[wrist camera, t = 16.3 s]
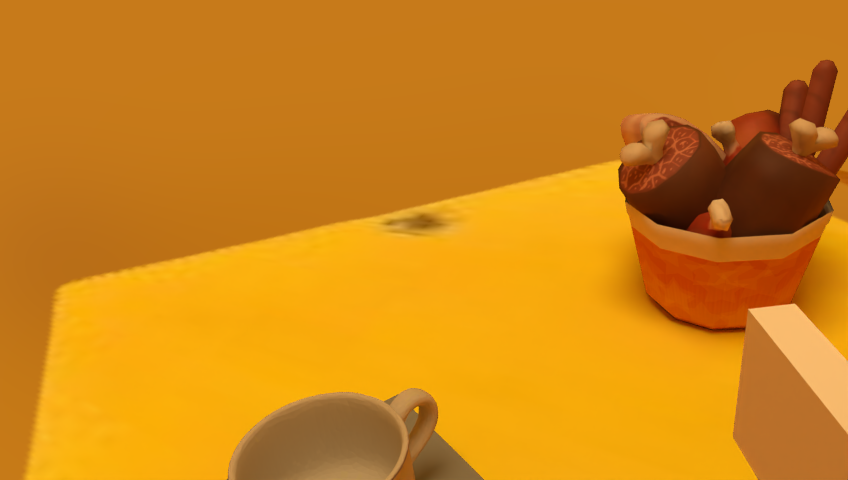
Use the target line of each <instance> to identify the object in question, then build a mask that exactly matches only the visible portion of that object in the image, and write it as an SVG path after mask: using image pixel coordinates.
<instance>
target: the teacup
mask: <svg viewBox="0 0 848 480" xmlns="http://www.w3.org/2000/svg"><path fill="white" fill-rule="evenodd" d="M417 406H419V414H418V418H417V420H416V423H415V425H414V427H413V429H412V431H411V432H410V434H408V430H407V427H406V425H405V420H406V418H407V416H408V414H409V413H410V412H411V411H412V410H413V409H414V408H416V407H417ZM437 419H438V407H437V404H436V402H435V400H434V399H433V397H432V396H431V395H430V394H428V393H427V392H425V391H423V390H421V389H416V388H411V389H407V390H405V391H403V392H401V393H400V394H399V395H398V396H397V397H396V398H395V399H394V400H393V401H392V403H391V404H390V405H388V404H386V403H385V402H383V401H381V400H379V399H376V398H374V397H371V396H366V395H363V394H358V393H351V392H337V393H328V394H321V395H316V396H312V397H308V398H304V399H301V400H299V401H296V402H293V403H290V404H288V405H286V406H284V407H282V408H280V409H278V410H276V411H274V412H273V413H271V414H270V415H268V416H266V417H265V418H264V419H263V420H261V421H260V422H259V423H258V424H256V425H255V426H254V427H253V428H252V429H251V430H250V431H249V432H248V433H247V434H246V435H245V436H244V437H243V439H242V440H241V441H240V443H239V444H238V446H237V447H236V449H235V451H234V453H233V456H232V458H231V461H230V463H229V470H228V480H415V475H414V470H413V465H412V464H413V462H414V461H415V459H416V458H417V457H418V455H419V454H420V453H421V451H422V450H423V448H424V447H425V445H426V444H427V442H428V441H429V439H430V437H431V435H432V433H433V431H434V429H435V426H436V424H437Z"/></svg>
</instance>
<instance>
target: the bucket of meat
mask: <svg viewBox="0 0 848 480" xmlns="http://www.w3.org/2000/svg"><path fill="white" fill-rule="evenodd" d="M837 72H838V71H837V68H836V66H835V64H834V62H833V61H830V60H824V61H820V63H819V64H818V65H817V66H816V67H815V68H814V69H813V72H812V76H811V80H810V84H809V87H808V86H807V84H806V83H805V81H801V80H794V81H791V82H790V83H789V84H788V85H787V86H786V87H785V89H784V91H783V97H782V103H781V109H780V114H779V113H776V112H773V111H771V110H765V111H759V112H754V113H748V114H745V115H743V116H740V117H738V118H736V119H734V120H732V121H724V122H718V123H717V124H715V125H713V126H711V131H712V136H713V137H714V138H716V139H717V140H718V141H719V142H721V143H722V145H723V147H724V151H723V150H721V148H720V147H719V146H718V145H717V144H716V143H715V142H714V141H713V140H712V139H711V138H710V137H709V136H708V135H707V134H706V133H704V132H703V131H701V130H700V129H698V128H697V127H695V126H694V125H692V124H691V123H690V122H688V121H687V120H685V119H682V118H679V117H676V116H673V115H669V114H660V113H652V114H635V115H628V116H627V117H625V118H624V119H623V121H622V123H621V132H622V137H623V139H624V142H625V145H626V146H625V147H623V148H622V149H621V153H620V160H621V162H622V164H621V166H620V167H619V169H618V173H619V188H620V190H621V191H622V193H623V194H624V196H625V197H626V200H625V203H626V209H627V213H628V215H629V217H630V222H631V226H632V231H633V235H634V240H635V244H636V248H637V253H638V257H639V262H640V266H641V271H642V275H643V279H644V284H645V288H646V292H647V293H648V294H649V295H650V296H651V297H652V298H653V299H654V300H655V301H656V302H658V303H659V304H660V305H661V306H662V307H663V308H664V309H665V310H667V311H668V312H669V313H670V314H671V315H672V316H673V317H674V318H676V319H678V320H681V321H685V322H688V323H691V324H695V325H698V326H701V327H705V328H708V329H711V330H716V329H737V328H746V323H747V314H748V309H753V308H762V307H770V306H779V305H788V304H790V303H791V301H792V299H793V296H794V294H795V292H796V290H797V288H798V285H799V283H800V281H801V279H802V277H803V275H804V272H805V270H806V268H807V266H808V264H809V261H810V259H811V257H812V255H813V253H814V250H815V248H816V246H817V244H818V242H819V240H820V237H821V235H822V233H823V231H824V229H825V226H826V225H827V224H828V223H829V221H830V218H831V216H832V213H833V208H832V206H831V203H830V201H829V198H830V196H831V194H832V193H833V191H834V189H835V188H836V186H837V184H838V183H839V181H840V179H839V178H838V177H837V176H836V174H837V172H838V171H839V169H840V168H841V166H842V165H843V163H844V162H845V160H846V159H847V157H848V110H847V112H846V113H845V115H844V117H843V118H842V120H841V121H840V123H839V124H838V126H837V127H836V129H835V130H831V129H829V128H826V127H824V123H825V119H826V115H827V111H828V107H829V103H830V99H831V95H832V91H833V88H834V83H835V80H836V76H837ZM821 150H822V151H821ZM817 151H821V152H820V154H819V155H818V157H817V158H815V157H814V155H815V153H816V152H817Z"/></svg>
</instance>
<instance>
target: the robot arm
mask: <svg viewBox="0 0 848 480" xmlns="http://www.w3.org/2000/svg"><path fill="white" fill-rule="evenodd" d="M733 438H734V440H735V441H736V443H737V445H738V446H739V448H740V450H741V451H742V453H743V455H744V456H745V458H746V460H747V461H748V463H749V465H750V466H751V468H752V470H753V471H754V473H755V475H756V476H757V478H758V480H848V361H847V360H846V359H845V358H844V357H843V356H842V355H841V354H840V352H839V351H838V350H837V349H836V348H835V347H834V346H833V345H832V344H831V343H830V341H829V340H828V339H827V338H826V337H825V336H824V335H823V334H822V333H821V332H820V330H819V329H818V328H817V327H816V326H815V325H814V324H813V323H812V322H811V321H810V320H809V318H808V317H807V316H806V315H805V314H804V313H803V312H802V311H801V310H800V309H799V307H798V306H797V305H796V304H788V305H779V306H770V307H762V308H753V309H748V314H747V323H746V331H745V339H744V348H743V356H742V365H741V373H740V381H739V390H738V398H737V407H736V415H735V423H734V432H733Z"/></svg>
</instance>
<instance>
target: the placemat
mask: <svg viewBox="0 0 848 480" xmlns="http://www.w3.org/2000/svg"><path fill="white" fill-rule="evenodd" d="M397 396H398V395H396V396H394V397H392V398H390V399H388V400H386V401H384V402H385V403H386V404H388V405H390V404H391V403H392V401H393V400H394V399H395V398H396V397H397ZM417 418H418V414H417V413H416V412H415V411H414V410H412V411H411V412H410V413H409V414H408V416H407V418H406V420H405V425H406V427H407V430H408V434H410V432H411V431H412V429H413V427H414V425H415V423H416V420H417ZM412 465H413V470H414V475H415V480H484V479H483V478H482V477H481V476H480V475H479V474H478V473H477V472H476V471H475V470H474V469H473V468H472V467H471V466H470V465H469V464H468V463H467V462H466V461H465V460H464V459H463V458H462V457H461V456H460V455H459V454H458V453H457V452H456V451H455V450H454V449H453V448H452V447H450V446H449V445H448V444H447V443H446V442H445V441H444V440H443V439H442V438H441V437H440V436H439V435H438V434H437V433H436V432H435V431H433V433H432V435H431V437H430V439H429V441H428V442H427V444H426V445H425V447H424V448H423V450H422V451H421V453H420V454H419V455H418V457H417V458H416V459H415V461H414V462H413V464H412ZM227 480H228V479H227Z"/></svg>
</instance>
